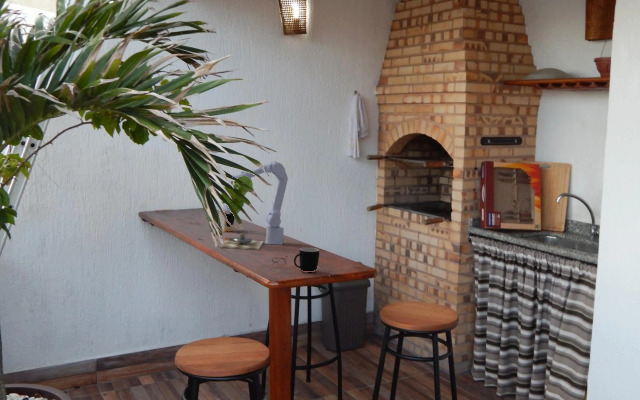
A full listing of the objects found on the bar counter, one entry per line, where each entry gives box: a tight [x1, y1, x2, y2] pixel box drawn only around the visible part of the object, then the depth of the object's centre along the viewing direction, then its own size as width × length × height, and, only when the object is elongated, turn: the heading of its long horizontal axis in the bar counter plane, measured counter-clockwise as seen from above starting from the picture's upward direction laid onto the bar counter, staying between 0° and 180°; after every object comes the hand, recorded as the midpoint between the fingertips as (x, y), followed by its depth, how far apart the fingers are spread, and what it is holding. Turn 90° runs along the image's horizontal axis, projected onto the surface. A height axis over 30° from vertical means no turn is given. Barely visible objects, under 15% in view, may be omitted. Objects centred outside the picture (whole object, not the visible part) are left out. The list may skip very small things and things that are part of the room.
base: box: [219, 232, 264, 251], centre depth 362 cm, size 20×20×6 cm
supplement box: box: [218, 210, 235, 233], centre depth 402 cm, size 8×5×13 cm, turn 143°
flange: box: [224, 236, 253, 243], centre depth 362 cm, size 14×10×1 cm
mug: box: [293, 247, 320, 271], centre depth 308 cm, size 12×9×10 cm
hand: (230, 225), depth 366 cm, fingers open, 7 cm apart
